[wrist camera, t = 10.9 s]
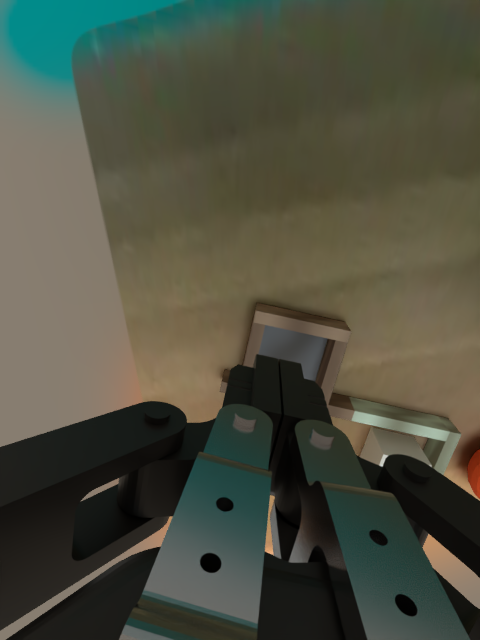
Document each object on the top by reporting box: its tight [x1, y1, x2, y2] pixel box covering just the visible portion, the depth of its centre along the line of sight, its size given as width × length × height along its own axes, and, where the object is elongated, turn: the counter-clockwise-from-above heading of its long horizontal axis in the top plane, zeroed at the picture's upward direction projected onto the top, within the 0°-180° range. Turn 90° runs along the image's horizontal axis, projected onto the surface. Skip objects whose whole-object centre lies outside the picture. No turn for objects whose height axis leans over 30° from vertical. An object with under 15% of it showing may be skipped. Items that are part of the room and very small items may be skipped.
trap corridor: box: [220, 303, 461, 496], centre depth 42 cm, size 25×23×3 cm
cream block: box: [360, 427, 432, 467], centre depth 42 cm, size 5×5×5 cm
